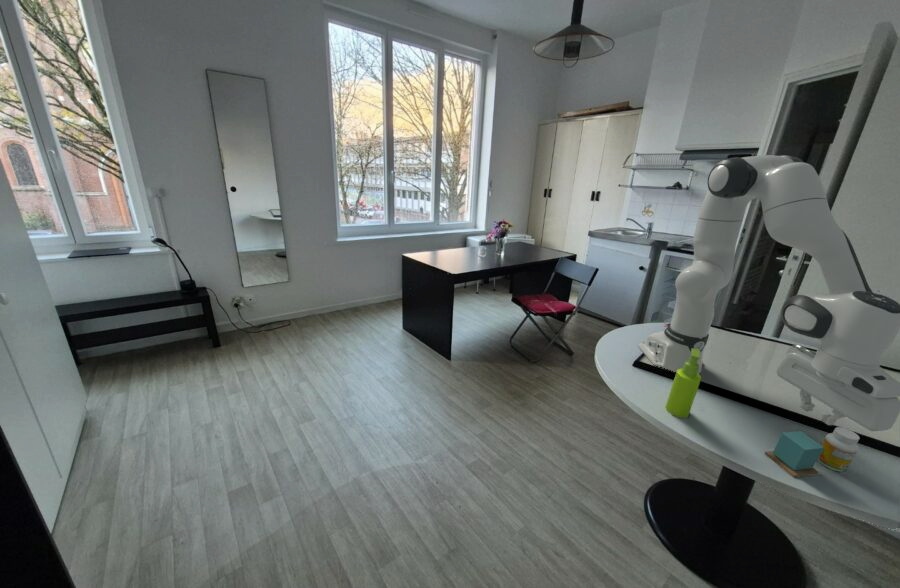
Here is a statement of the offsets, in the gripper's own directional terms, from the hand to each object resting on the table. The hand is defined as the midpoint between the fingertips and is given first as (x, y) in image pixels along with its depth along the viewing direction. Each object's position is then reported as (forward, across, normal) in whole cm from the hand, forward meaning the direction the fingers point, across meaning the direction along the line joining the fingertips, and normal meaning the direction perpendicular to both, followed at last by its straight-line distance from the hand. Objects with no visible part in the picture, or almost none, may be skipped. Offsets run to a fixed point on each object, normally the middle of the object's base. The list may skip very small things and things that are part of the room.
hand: (815, 415), depth 79 cm
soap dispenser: (+15, -21, -14) cm, 30 cm away
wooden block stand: (+15, 0, 0) cm, 15 cm away
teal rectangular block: (+14, 0, 0) cm, 14 cm away
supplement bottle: (+15, +1, +10) cm, 18 cm away
